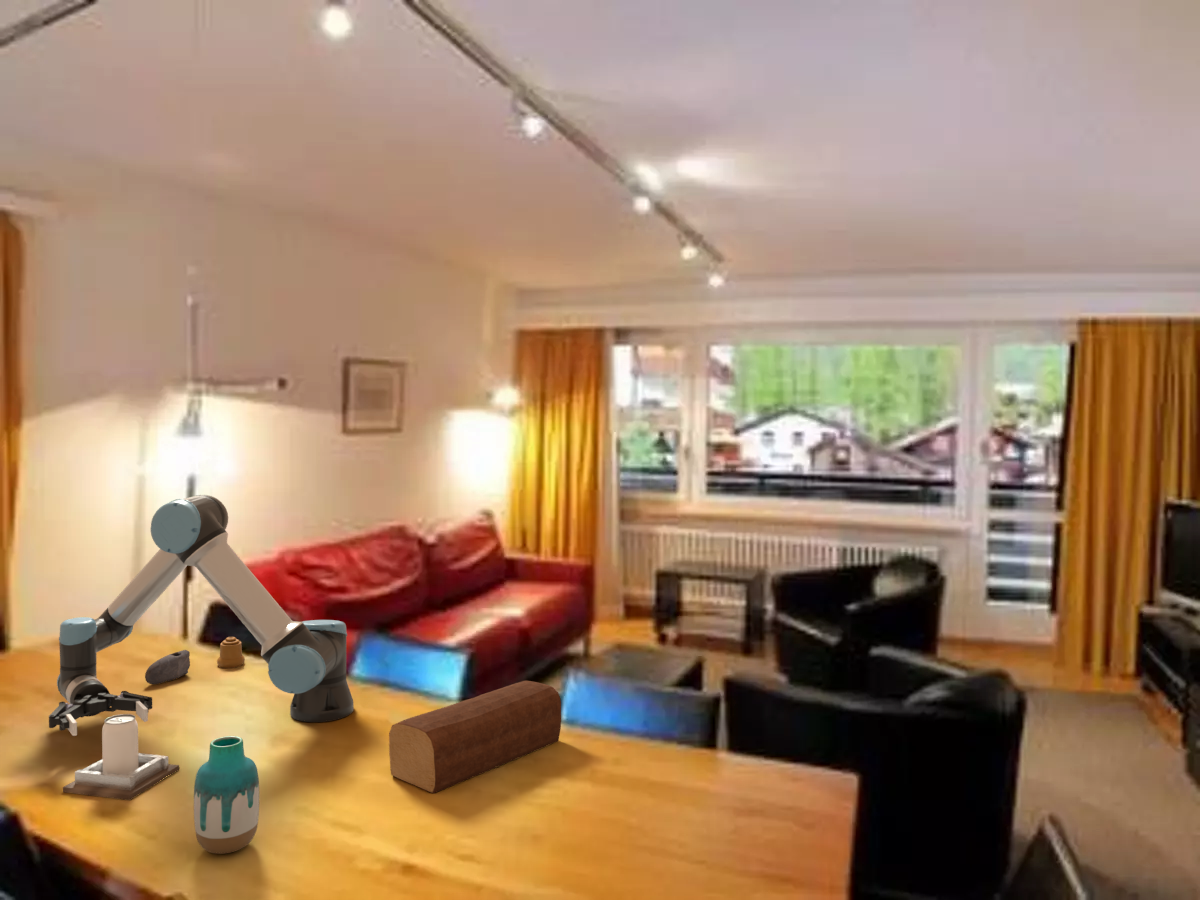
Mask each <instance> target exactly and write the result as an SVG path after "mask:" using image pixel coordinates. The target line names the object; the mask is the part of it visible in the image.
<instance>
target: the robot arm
mask: <svg viewBox="0 0 1200 900" xmlns="http://www.w3.org/2000/svg"><path fill="white" fill-rule="evenodd" d="M228 524H229V514H228V511H227V508H226V506H225V504H223V502H222V501H220V500H219V499H218V498H216V497H214V496H212V495H208V494H197V495H193V496H190V497H186V498H177V499H174V500H171V501H169V502H167V503H164V504H162V506H160V507H159V508H158V509H157V510H156V511H155V513H154V515H153V516H152V518H151V522H150V535H151V538H152V541H153V543H154V544H155V545H156V546H157V547H158V548H159V550H158V551H157V552H156V553H155V554H154V555H153V556H152V557H151V558H150V560H149V561H148V562H147V563H146V564H145V565H144V566H143V567H142V569H141V570H140V571H139V572H138V573H137V574H136V575H135V576H134V578H132V580H131V581H130V582H129V583H128V584H127V585H126V586H125V588H124V589H123V590H121V592H120V593H119V594H118V596H117V597H115V599H114V600H113V601H112V602H111V603H110V604H109V605H108V606H107V608H106V609H105V610H104V611H103V612H102V613H101V614H100V615H99V616H98V617H97V618H96V619H94V618H92V617H86V616H82V617H80V616H79V617H73V618H69V619H65V620H63V621H62V622H61V624H60V625H59V636H58V641H59V643H58V644H59V674H58V675H57V679H56V686H57V689H58V691H59V694H60V695H61V697H63V698H64V699H65V700H66V701H59V702H58V706H57V707H56V708H55V709H54V710H53V711H52V712H51V713H50V714H49V715H48V728H49V729H54V728H56V727H57V726H58V727H59V731H65V730H66V729H67V731H69V732H70V734H71V736H73V737H75V736H77V735H78V722H77V719H79V718H84V717H94V716H97V715H99V714H101V713H103V712H108V713H109V712H111V713H113V712H115V711H128V712H135V714H136V716H137V717H139V718H140V719H141V721H142V722H144V723H145V722H148V721H149V711H150V710H152V709H153V697H152V696H148V695H143V694H142V695H141V694H137V693H133V692H129V691H128V690H122V691H120V695H116V694H113V693H112V694H111V693H110V691H109V689H108V688H107V687H106V686H105V685H104V684H103V682H101V681H100V680H99V679H98V678H97V677H98V676H97V653H99V652H100V651H103V650H105V649H107V648H109V647H111V646H113V645H115V644H119V643H121V642H122V641H123V640H125V639H126V638H128V637H129V636H130V635H131V634H132V632H133V629H134V625H135V624H136V623H137V622H138V621H139V620H140V618H141V617H143V615H144V614H145V613H146V612H147V610H148V609H150V607H151V606H152V605H153V604H154V603H155V602H156V601H157V600H158V599H159V598H160V596H161V595H162V594H163V593H164V592H166V590H167V589H168V587H170V585H171V584H172V583H173V582H174V581H175V580H176V579H177V578H178V577H179V575H180V574H181V573H182V572H183V571H184V570H185V569H186V568H187V566H188V567H189V566H190V567H195V568H196V569H197V571H199V573H200V574H201V575H202V577H204V579H205V581H207V582H208V584H209V585H210V586H211V587H212V588H213V589H214V590H215V592H216V593H217V594H218V595H219V596H220V598H221V599H222V600H223V601H224V602H225V604H226V605H227V606H228V608H230V610H231V611H232V612H233V613H234V614H235V616H237V618H238V619H239V620H240V622H241V623H242V624H243V625H244V626H245V627H246V629H247V630H248V631H249V633H251V634H252V636H253V637H254V639H255V640H256V641H257V642H258V643H259V644H260V645H261V652H260V656H261V658H263V660H264V661H265V662H266V664H267V665H268V671H267V673H268V677H269V679H270V681H271V682H272V684H273V685H274V686H275V688H277V689H279V690H280V691H282V692H283V693H287V694H293V696H292V701H291V702H290V706H289V707H290V709H289V710H290V711H289V715H290V718H292V719H294V720H297V721H299V722H307V723H324V722H331V721H337V720H340V719H342V718H346V717H348V716H350V715H351V714H352V713H353V712H354V698H353V695H352V693H351V690H350V687H349V683H348V681H347V637H348V633H347V625H346V623H345V622H344V621H340V620H334V619H314V620H313V619H311V620H303V621H296V620H295V621H294V620H292V619H291V617H290V616H289V615H288V614H287V613H286V611H285V610H284V609H283V607H281V605H279V603H278V602H277V601H276V600H275V598H273V596H272V595H271V594H270V592H269V591H268V590H267V588H265V586H264V585H263V583H261V582H260V581H259V579H258V578H257V577H256V576H255V575H254V573H253V572H252V571H251V570H250V568H249V567H248V566H247V565H246V564H245V563H244V561H243V560H242V559H241V558H240V556H238V554H237V553H236V552H235V551H234V549H233V548H232V547H231V546H230V545H229V543H228V537H229V533H228V531H227V530H226V529H227V527H228Z"/></svg>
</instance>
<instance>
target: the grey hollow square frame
mask: <svg viewBox="0 0 1200 900" xmlns="http://www.w3.org/2000/svg"><path fill="white" fill-rule="evenodd" d="M168 764H169V756H168V755H161V754H152V753H144V752H143V753H142V752H138V767H139V768H138V769H136V770H134V771H132V772H131V773H129V774H127V775H123V774H115V773H106V772H103V759H102V758H101V759H100V760H98V761H96V762H93V763H92V764H90V765H89V766H86V767H84V768H82V769H77V770H76V771H74V781H75V784H79V785H87V786H96V787H104V788H113V789H121V790H129V791H131V790H132V789H134V788H135V786H136V785H137V784H139V783H141V782H143V781H144V780H146V779H148V778H149V777H151V776H153V775H154V774H156V773H158V772H159V771H161V770H166V769H168Z"/></svg>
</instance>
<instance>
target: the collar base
mask: <svg viewBox="0 0 1200 900" xmlns="http://www.w3.org/2000/svg"><path fill="white" fill-rule="evenodd" d="M138 768H139V767H138ZM177 770H178V771H180V764H171V763H168V769H166V770H161V771H159V772H158V773H156V774H154V775H153V776H151V777H149V778H148V779H146V780H144V781H143V782H141V783H139V784H137V785H136V786H135V788H134V789H132V790H131V791H129V790H121V789H113V788H104V787H96V786H87V785H79V784H75V780H73V781H71V782H69V783H68V784H66V785H65V786H63V787H62V792H63V793H68V794H75V795H76V794H77V795H86V796H91V797H101V798H108V799H117V800H125V801H130V800H132V799H134V798H135V797H136V796H139V795H140V794H142V793H144V792H145V791H146V790H149V789H150V788H152V787H153V786H155V785H157V784H158V783H160V782H161V781H160V780H162V779H163V778H165V777H166V776H168V775H170V774H171V775H173V774H175V773H176V772H178V771H177ZM175 771H176V772H175ZM174 772H175V773H174ZM172 773H173V774H172ZM171 775H170V776H171ZM168 777H169V776H168ZM165 779H166V778H165ZM163 780H164V779H163ZM163 780H162V781H163ZM159 781H160V782H159ZM157 782H158V783H157ZM156 783H157V784H156ZM154 784H155V785H154ZM151 786H152V787H151ZM138 794H139V795H138Z"/></svg>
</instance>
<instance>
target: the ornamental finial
mask: <svg viewBox="0 0 1200 900" xmlns="http://www.w3.org/2000/svg"><path fill="white" fill-rule="evenodd" d="M242 647H243V646H242V641H241V640H240V639H237V637H235V636H228V637H226V638H225V639H224V640H223V641H222V642H221V643H220V645H219V657H218V658H217V660H216V662H217V665H218V667H219V668H223V669H231V668H238V667H241V666H242V665H244V663H245V660H246V659H245V656H244V655H243V650H242V649H243V648H242Z"/></svg>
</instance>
